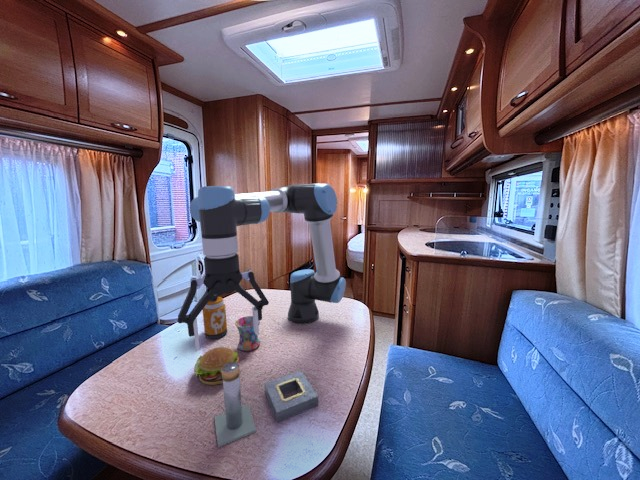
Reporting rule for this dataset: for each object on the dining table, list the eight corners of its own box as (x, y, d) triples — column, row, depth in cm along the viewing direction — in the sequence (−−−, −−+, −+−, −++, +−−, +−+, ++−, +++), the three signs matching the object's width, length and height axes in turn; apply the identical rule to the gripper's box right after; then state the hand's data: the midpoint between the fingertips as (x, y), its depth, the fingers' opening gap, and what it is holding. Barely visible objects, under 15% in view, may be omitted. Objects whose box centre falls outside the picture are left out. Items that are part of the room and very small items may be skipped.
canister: (209, 342, 105) (204, 296, 101) (200, 332, 113) (196, 288, 110) (230, 334, 110) (227, 290, 107) (221, 325, 119) (217, 284, 115)
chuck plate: (301, 379, 83) (301, 370, 82) (318, 405, 72) (318, 395, 72) (265, 392, 77) (264, 382, 77) (277, 422, 67) (276, 412, 66)
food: (206, 360, 93) (204, 340, 92) (244, 360, 93) (243, 340, 91) (185, 388, 80) (182, 365, 78) (230, 389, 79) (228, 365, 78)
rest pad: (248, 406, 72) (248, 404, 72) (256, 431, 64) (256, 429, 64) (214, 418, 68) (214, 417, 68) (218, 447, 60) (217, 445, 60)
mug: (251, 355, 96) (249, 329, 94) (231, 350, 99) (229, 324, 98) (269, 339, 107) (268, 315, 105) (251, 334, 110) (250, 311, 108)
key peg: (241, 413, 69) (237, 359, 66) (244, 426, 65) (240, 369, 63) (225, 420, 67) (220, 364, 64) (227, 433, 63) (222, 374, 61)
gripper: (269, 246, 68) (273, 321, 71) (159, 258, 57) (170, 345, 60) (278, 251, 61) (282, 333, 65) (155, 265, 50) (168, 363, 54)
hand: (228, 339), depth 63 cm, fingers open, 13 cm apart
